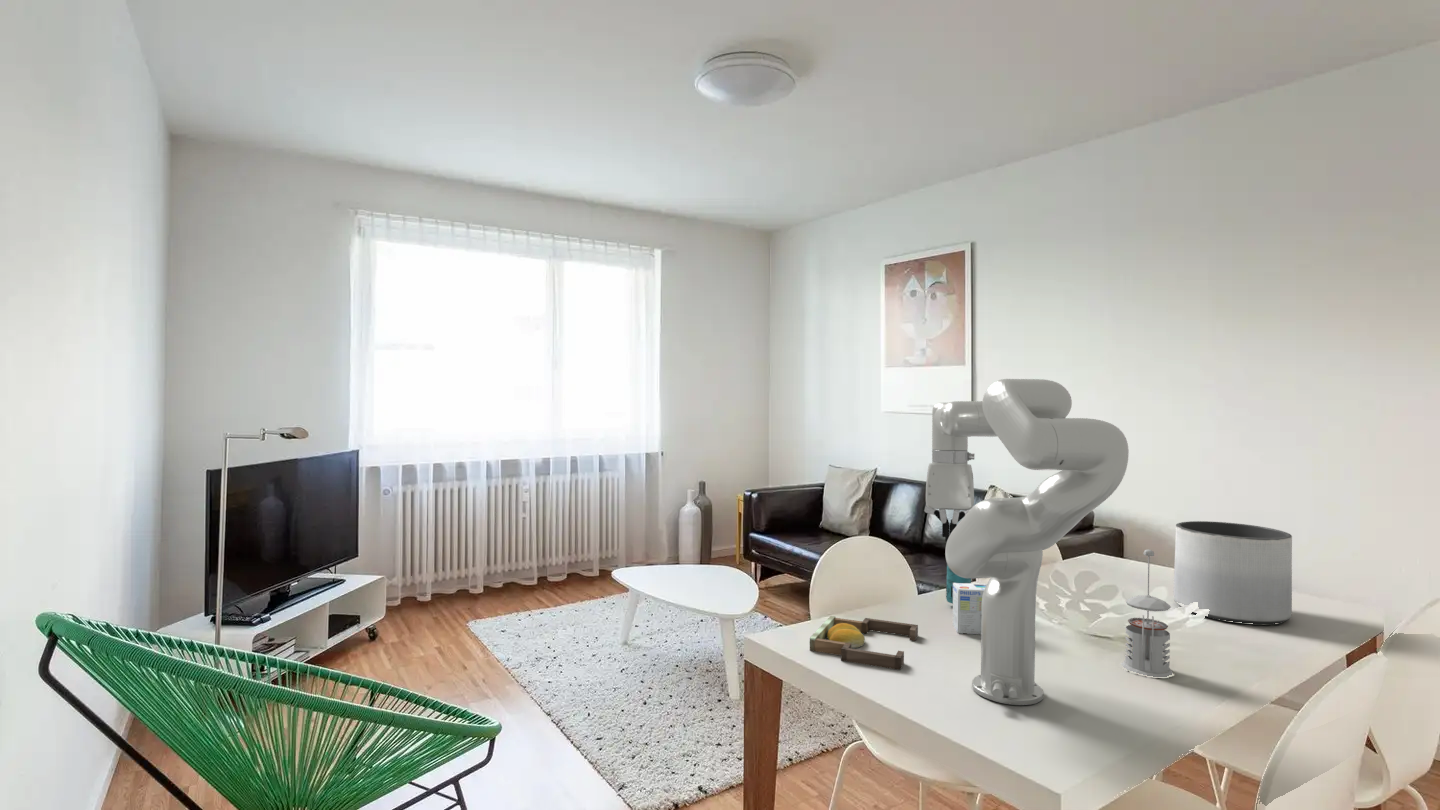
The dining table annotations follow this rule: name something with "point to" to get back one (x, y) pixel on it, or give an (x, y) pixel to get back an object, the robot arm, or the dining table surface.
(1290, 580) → the planter
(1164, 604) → the french press
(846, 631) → the bread roll
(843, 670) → the dining table surface
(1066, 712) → the dining table surface
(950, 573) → the beverage bottle
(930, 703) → the dining table surface
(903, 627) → the frame
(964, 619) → the light bulb box
